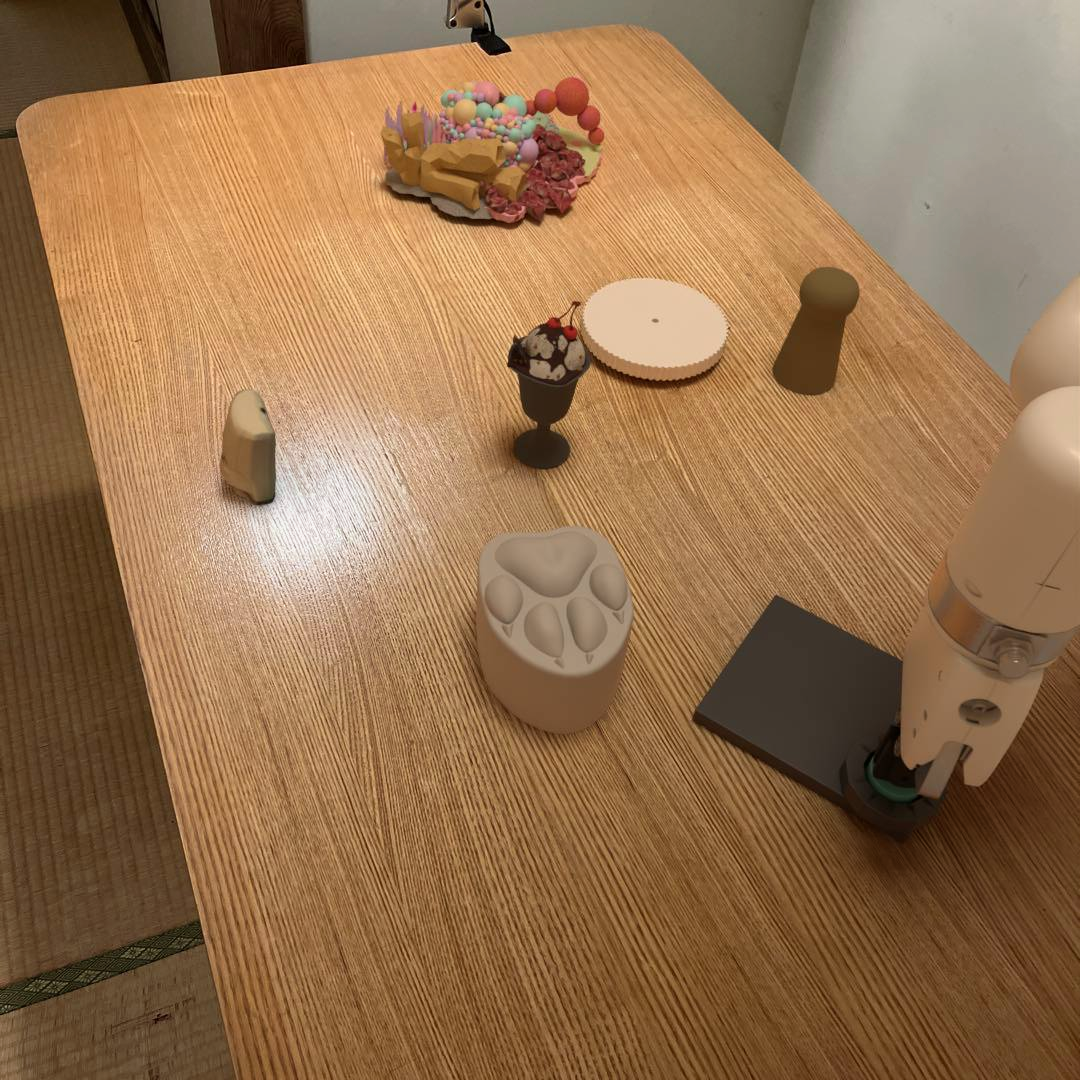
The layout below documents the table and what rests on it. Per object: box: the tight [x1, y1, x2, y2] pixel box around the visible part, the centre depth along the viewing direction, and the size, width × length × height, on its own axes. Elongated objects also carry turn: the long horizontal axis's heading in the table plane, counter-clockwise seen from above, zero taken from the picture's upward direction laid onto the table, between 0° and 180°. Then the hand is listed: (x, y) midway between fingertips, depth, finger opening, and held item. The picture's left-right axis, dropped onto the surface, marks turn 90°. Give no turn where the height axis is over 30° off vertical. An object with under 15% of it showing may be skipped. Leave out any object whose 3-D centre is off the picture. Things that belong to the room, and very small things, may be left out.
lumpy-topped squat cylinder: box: [475, 525, 635, 735], centre depth 76 cm, size 10×13×9 cm
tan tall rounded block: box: [219, 388, 277, 506], centre depth 86 cm, size 6×5×8 cm
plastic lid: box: [580, 277, 729, 382], centre depth 104 cm, size 14×14×2 cm
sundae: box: [506, 300, 592, 469], centre depth 88 cm, size 7×7×15 cm
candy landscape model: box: [380, 76, 605, 224], centre depth 121 cm, size 25×24×9 cm
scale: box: [691, 594, 948, 845], centre depth 76 cm, size 17×14×3 cm
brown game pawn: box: [772, 266, 860, 396], centre depth 99 cm, size 6×6×11 cm
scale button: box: [865, 756, 919, 804], centre depth 71 cm, size 4×4×2 cm
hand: (896, 772), depth 70 cm, fingers closed
